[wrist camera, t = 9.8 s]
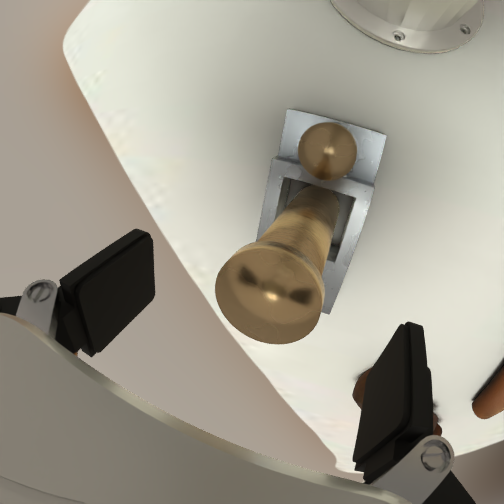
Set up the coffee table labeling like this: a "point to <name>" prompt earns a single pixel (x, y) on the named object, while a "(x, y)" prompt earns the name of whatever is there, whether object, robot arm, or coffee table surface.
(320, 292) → the link pin
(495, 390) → the sunglasses case
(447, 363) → the coffee table surface
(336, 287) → the brass knob on bracket
